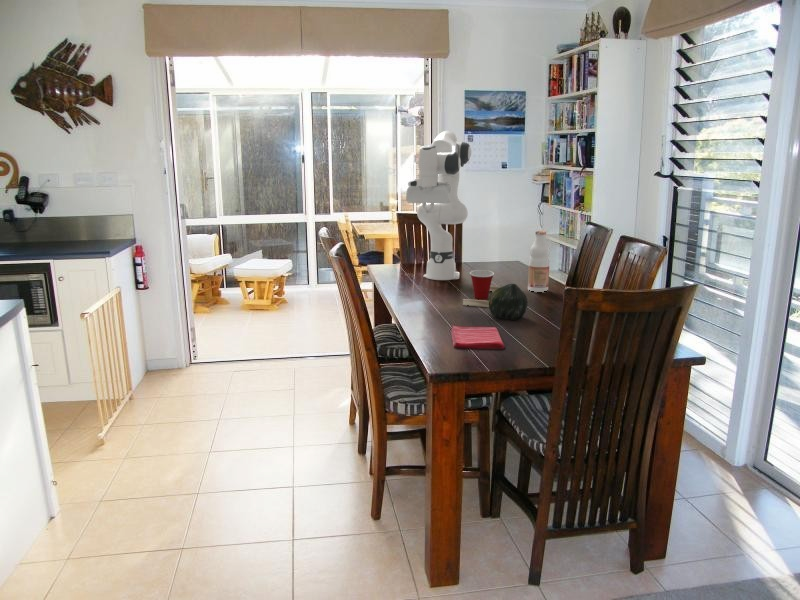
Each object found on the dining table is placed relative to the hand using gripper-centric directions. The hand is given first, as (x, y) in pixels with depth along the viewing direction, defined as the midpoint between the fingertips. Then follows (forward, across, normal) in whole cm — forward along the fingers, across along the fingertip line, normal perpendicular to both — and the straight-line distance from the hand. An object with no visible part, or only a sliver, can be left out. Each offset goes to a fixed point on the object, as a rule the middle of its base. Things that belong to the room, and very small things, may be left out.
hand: (428, 213), depth 292 cm
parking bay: (+37, -30, +6) cm, 48 cm away
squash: (+36, -43, +37) cm, 68 cm away
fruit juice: (+37, -49, -18) cm, 64 cm away
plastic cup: (+37, -27, +7) cm, 46 cm away
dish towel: (+36, -37, +70) cm, 87 cm away
